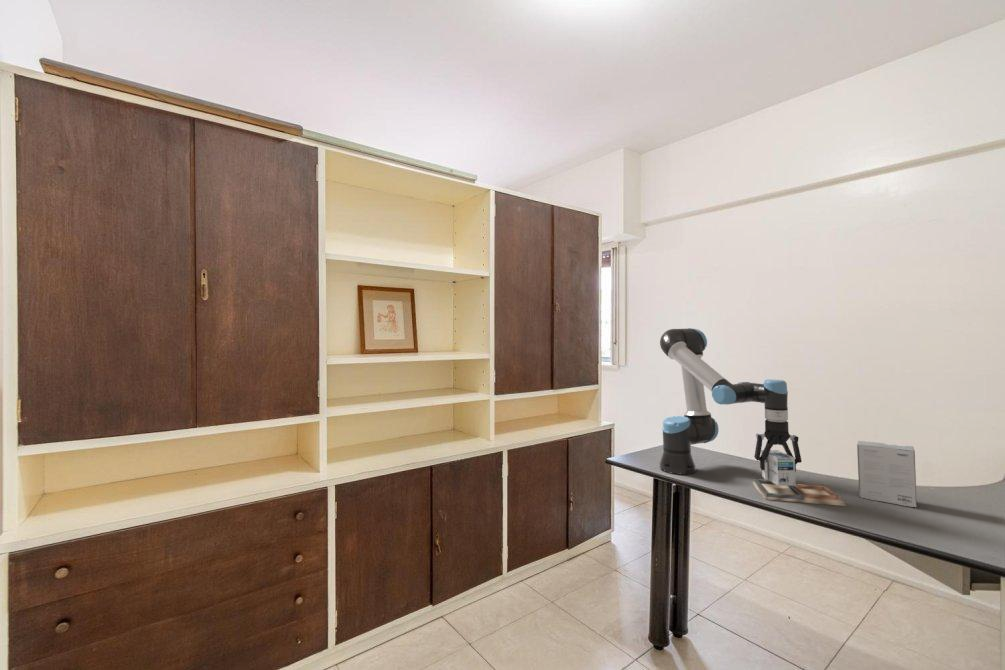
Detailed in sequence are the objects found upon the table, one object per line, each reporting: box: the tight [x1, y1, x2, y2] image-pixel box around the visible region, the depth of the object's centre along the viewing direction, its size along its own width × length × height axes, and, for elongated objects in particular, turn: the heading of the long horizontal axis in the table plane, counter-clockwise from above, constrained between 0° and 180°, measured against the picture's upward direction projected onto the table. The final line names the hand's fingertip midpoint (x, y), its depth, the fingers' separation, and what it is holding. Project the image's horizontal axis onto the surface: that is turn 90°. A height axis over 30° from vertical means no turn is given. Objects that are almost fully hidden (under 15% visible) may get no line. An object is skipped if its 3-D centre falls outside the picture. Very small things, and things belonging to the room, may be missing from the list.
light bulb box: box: [760, 449, 797, 486], centre depth 161 cm, size 11×7×11 cm, turn 178°
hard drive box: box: [856, 440, 918, 508], centre depth 152 cm, size 16×8×20 cm, turn 47°
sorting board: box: [752, 478, 847, 507], centre depth 159 cm, size 25×16×2 cm, turn 73°
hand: (778, 479), depth 161 cm, fingers closed on light bulb box, 8 cm apart
